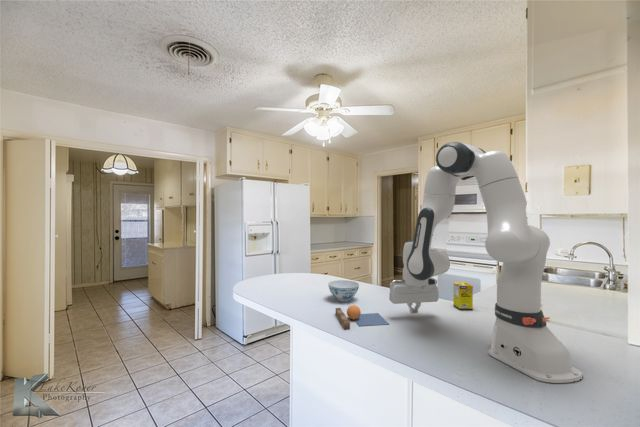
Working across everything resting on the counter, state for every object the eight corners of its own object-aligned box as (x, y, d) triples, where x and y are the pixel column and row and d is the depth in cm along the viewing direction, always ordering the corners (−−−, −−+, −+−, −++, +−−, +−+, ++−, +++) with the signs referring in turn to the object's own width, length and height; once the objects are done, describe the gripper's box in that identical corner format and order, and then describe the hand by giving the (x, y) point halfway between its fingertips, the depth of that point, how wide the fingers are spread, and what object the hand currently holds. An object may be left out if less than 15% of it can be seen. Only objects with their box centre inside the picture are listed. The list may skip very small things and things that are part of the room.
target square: (389, 324, 110) (389, 324, 110) (358, 326, 108) (358, 325, 108) (378, 313, 122) (378, 313, 122) (350, 314, 120) (350, 314, 120)
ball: (347, 307, 112) (348, 322, 112) (361, 306, 113) (362, 321, 113) (345, 303, 118) (346, 317, 118) (358, 303, 118) (359, 316, 118)
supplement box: (473, 310, 126) (473, 285, 126) (459, 310, 126) (459, 285, 126) (466, 306, 132) (466, 282, 132) (453, 305, 132) (453, 282, 132)
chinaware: (358, 295, 148) (358, 280, 148) (359, 305, 133) (359, 288, 133) (329, 294, 149) (329, 279, 149) (327, 303, 134) (327, 287, 134)
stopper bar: (349, 329, 105) (349, 322, 105) (344, 329, 105) (344, 322, 105) (340, 313, 121) (340, 307, 121) (335, 314, 121) (335, 308, 121)
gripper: (393, 282, 113) (392, 317, 113) (441, 280, 116) (440, 314, 116) (386, 278, 119) (386, 311, 119) (432, 276, 122) (432, 309, 123)
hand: (413, 313), depth 118 cm, fingers closed
